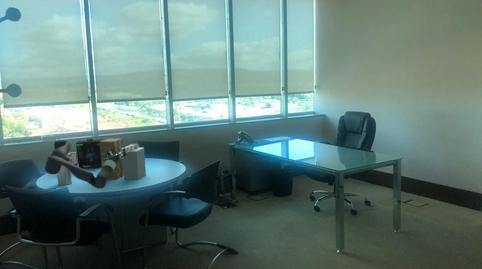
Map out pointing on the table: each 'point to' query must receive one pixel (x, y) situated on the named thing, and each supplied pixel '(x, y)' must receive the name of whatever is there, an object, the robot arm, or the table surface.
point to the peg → (130, 147)
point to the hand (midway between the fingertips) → (119, 149)
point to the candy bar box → (73, 158)
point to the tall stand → (107, 147)
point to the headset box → (89, 153)
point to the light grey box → (134, 164)
